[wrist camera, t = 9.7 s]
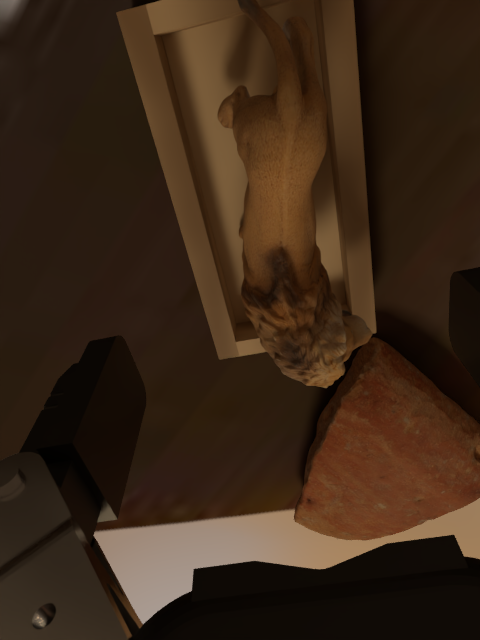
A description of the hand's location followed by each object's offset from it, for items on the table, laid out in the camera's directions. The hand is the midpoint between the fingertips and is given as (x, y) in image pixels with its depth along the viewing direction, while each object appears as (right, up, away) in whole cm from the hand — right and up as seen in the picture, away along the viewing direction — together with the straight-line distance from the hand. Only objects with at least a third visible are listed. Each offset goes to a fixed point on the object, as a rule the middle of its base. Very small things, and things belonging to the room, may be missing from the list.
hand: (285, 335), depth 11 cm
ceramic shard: (+8, -9, +23) cm, 26 cm away
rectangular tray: (0, +7, +12) cm, 15 cm away
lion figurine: (+1, +8, +11) cm, 13 cm away
